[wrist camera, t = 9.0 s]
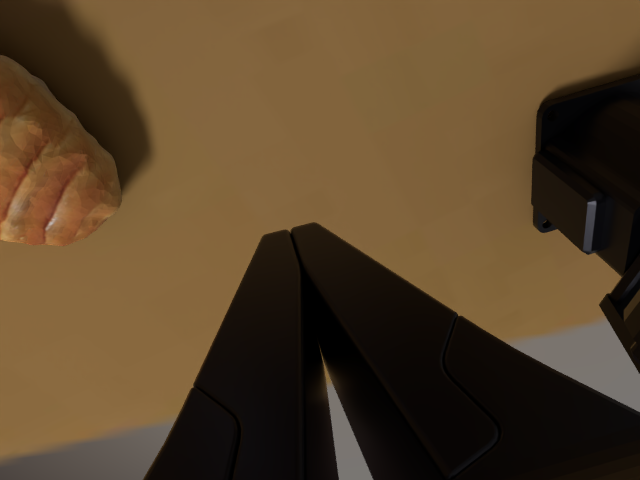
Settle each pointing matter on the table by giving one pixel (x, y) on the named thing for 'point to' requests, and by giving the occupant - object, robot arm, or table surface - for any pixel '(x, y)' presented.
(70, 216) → the pastry
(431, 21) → the table surface
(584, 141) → the robot arm
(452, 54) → the table surface
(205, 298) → the table surface
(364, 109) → the table surface
